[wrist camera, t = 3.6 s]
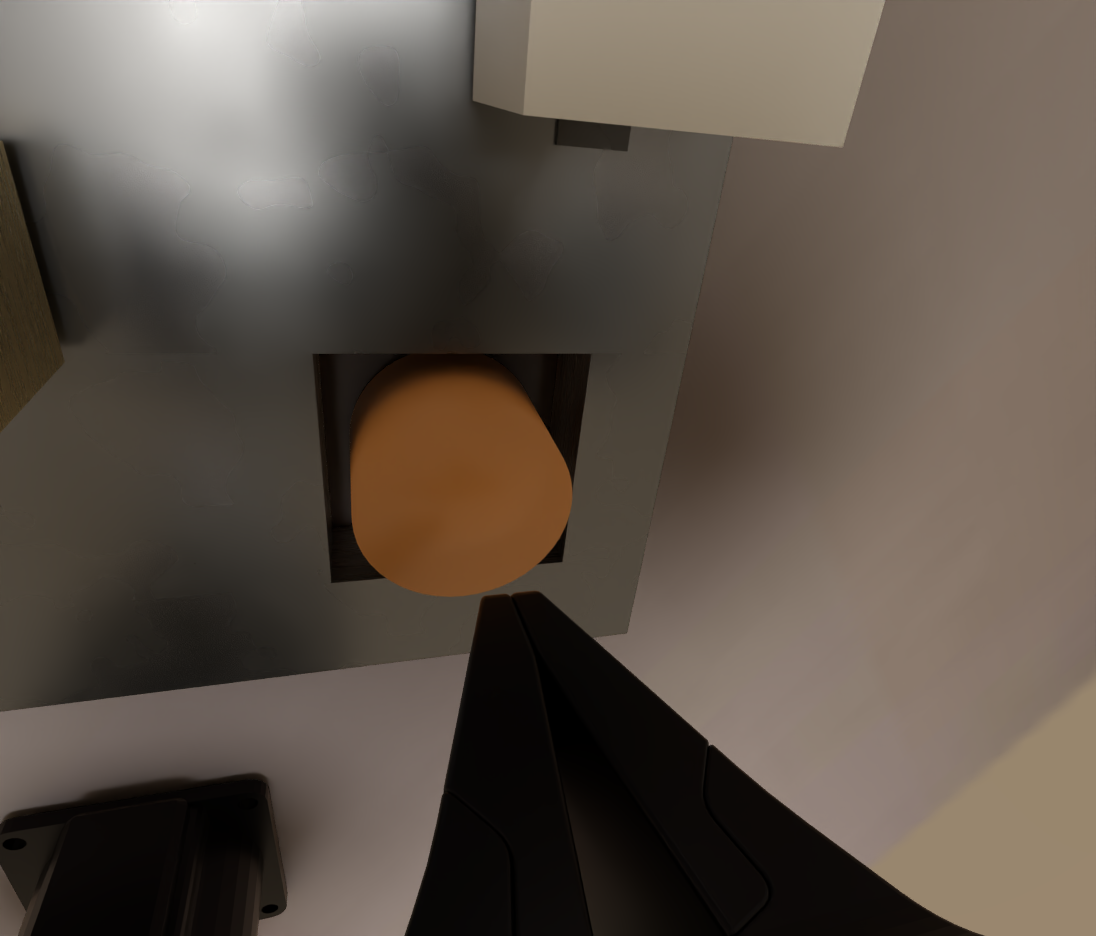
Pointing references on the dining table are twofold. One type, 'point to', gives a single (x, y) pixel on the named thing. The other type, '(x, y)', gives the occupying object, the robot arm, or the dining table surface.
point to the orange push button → (453, 476)
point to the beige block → (680, 63)
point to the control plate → (306, 325)
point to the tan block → (21, 309)
